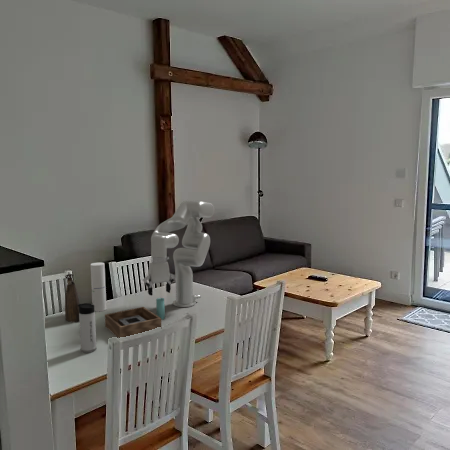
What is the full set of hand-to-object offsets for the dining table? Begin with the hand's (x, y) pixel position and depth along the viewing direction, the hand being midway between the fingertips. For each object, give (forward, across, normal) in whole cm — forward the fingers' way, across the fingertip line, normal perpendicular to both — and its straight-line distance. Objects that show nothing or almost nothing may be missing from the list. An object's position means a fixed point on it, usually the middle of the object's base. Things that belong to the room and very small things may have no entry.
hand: (159, 293), depth 220 cm
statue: (+14, +36, -24) cm, 45 cm away
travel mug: (+15, +41, +16) cm, 47 cm away
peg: (+13, -1, -1) cm, 13 cm away
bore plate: (+14, +16, +4) cm, 22 cm away
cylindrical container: (+13, +20, -32) cm, 40 cm away
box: (+14, +16, +4) cm, 22 cm away
